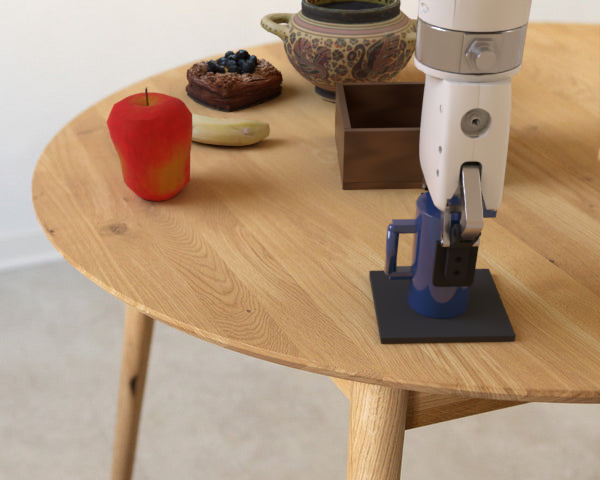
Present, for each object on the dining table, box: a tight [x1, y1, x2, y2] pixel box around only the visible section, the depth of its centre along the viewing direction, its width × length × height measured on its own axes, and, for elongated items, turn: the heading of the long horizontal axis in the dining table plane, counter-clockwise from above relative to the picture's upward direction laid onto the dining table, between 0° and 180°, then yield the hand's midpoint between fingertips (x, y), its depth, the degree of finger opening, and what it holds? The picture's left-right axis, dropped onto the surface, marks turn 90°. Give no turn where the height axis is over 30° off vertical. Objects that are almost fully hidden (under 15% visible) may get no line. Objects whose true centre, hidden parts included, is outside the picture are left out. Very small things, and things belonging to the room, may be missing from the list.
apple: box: [106, 86, 193, 202], centre depth 82 cm, size 9×8×12 cm
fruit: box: [191, 112, 271, 147], centre depth 97 cm, size 7×15×3 cm, turn 54°
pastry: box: [184, 49, 284, 113], centre depth 108 cm, size 11×12×6 cm
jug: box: [383, 191, 498, 319], centre depth 65 cm, size 8×5×10 cm, turn 91°
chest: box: [334, 80, 426, 190], centre depth 90 cm, size 16×15×7 cm
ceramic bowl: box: [259, 0, 417, 103], centre depth 106 cm, size 24×18×15 cm
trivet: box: [368, 268, 517, 344], centre depth 68 cm, size 11×10×1 cm
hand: (443, 257), depth 65 cm, fingers open, 7 cm apart
